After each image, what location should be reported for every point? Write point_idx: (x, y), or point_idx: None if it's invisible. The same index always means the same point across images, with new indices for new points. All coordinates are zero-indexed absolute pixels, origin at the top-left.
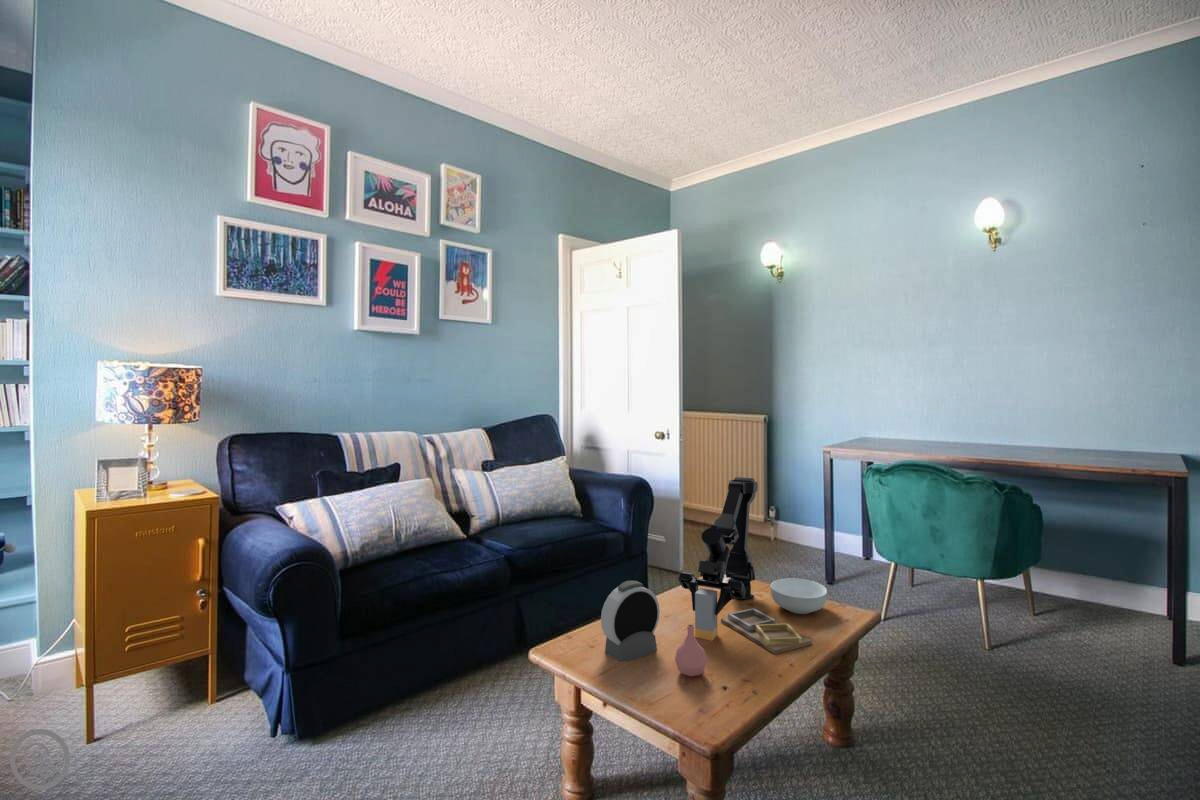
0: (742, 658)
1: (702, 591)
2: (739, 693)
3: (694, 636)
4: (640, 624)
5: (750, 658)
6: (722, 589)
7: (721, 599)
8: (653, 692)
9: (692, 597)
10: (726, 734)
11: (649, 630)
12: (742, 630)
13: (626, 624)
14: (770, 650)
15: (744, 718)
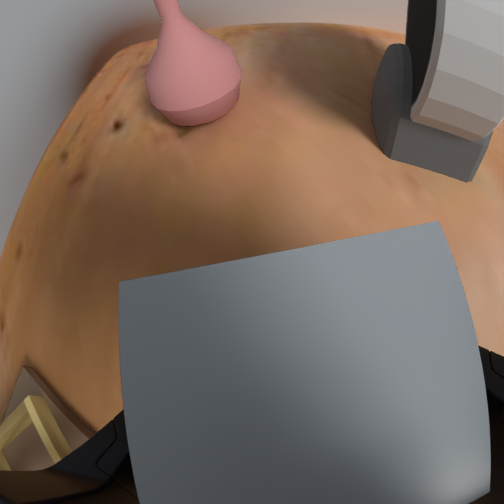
0: (96, 279)
1: (390, 385)
2: (89, 132)
3: (162, 27)
4: (415, 44)
5: (76, 295)
6: (13, 491)
7: (101, 441)
8: (242, 46)
9: (482, 353)
10: (105, 66)
11: (413, 92)
12: None
13: (412, 12)
14: (39, 380)
15: (83, 97)
